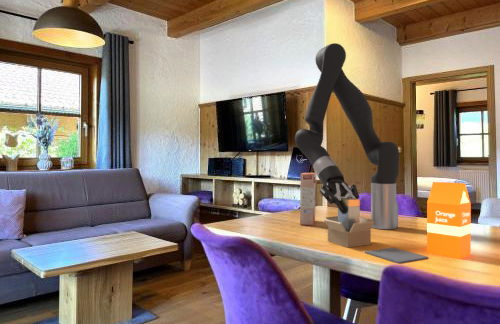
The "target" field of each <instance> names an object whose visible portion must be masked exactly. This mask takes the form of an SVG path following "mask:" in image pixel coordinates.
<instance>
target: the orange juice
mask: <svg viewBox="0 0 500 324" xmlns="http://www.w3.org/2000/svg"><path fill="white" fill-rule="evenodd" d="M426 204H427V206H426V208H427V209H426V216H427V217H426V220H427V221H426V232H427V233H426V236H427V237H426V242H427V243H426V248H427V249H426V253H427V254H430V255H435V256H441V257H447V258H452V259H457V260H461V259H465V258H466V257H468V256H470V255H471V246H472V245H471V242H472V241H471V240H472V239H471V233H472V225H471V224H472V223H471V221H472V220H471V219H472V216H471V215H472V214H471V213H472V212H471V211H472V208H471V207H472V206H471V200H470V197H469V193H468V189H467V185H466V183H465V182H444V181H443V182H441V181H440V182H439V181H432V185H431V188H430V192H429V195H428V199H427V202H426Z"/></svg>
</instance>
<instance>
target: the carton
mask: <svg viewBox="0 0 500 324" xmlns="http://www.w3.org/2000/svg"><path fill="white" fill-rule="evenodd" d="M323 221H324V223H325V224H326V226H327V242H328V241H329V243H332V244H335V245H338V246H342V247H345V248H347V247H348V248H355V246H356V247H362V245H363V246H370V245H371V244H372V243H371V242H372V241H371V240H372V239H371V237H372V234H371V233H372V231H371V228H373V227H372V225H373V223H374V220H372V219H371V218H366V217H362V216H360V223H354V224H353V226H352V228H351V230H350V231H349V232H346V230H345V228H344V227H343V225H342V223H340V222H338V215H336V216H326V217H325V218H324V219H323Z"/></svg>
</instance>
